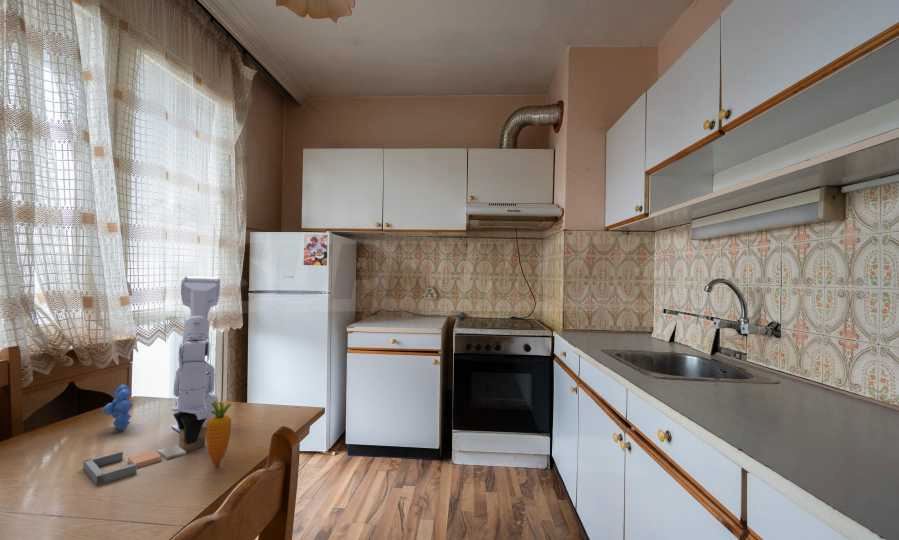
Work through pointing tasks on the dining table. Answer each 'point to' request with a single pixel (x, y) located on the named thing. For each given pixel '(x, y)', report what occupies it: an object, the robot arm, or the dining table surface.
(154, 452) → the tile
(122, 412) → the grapes
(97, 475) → the bay
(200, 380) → the robot arm
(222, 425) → the carrot
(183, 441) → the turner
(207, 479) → the dining table surface
